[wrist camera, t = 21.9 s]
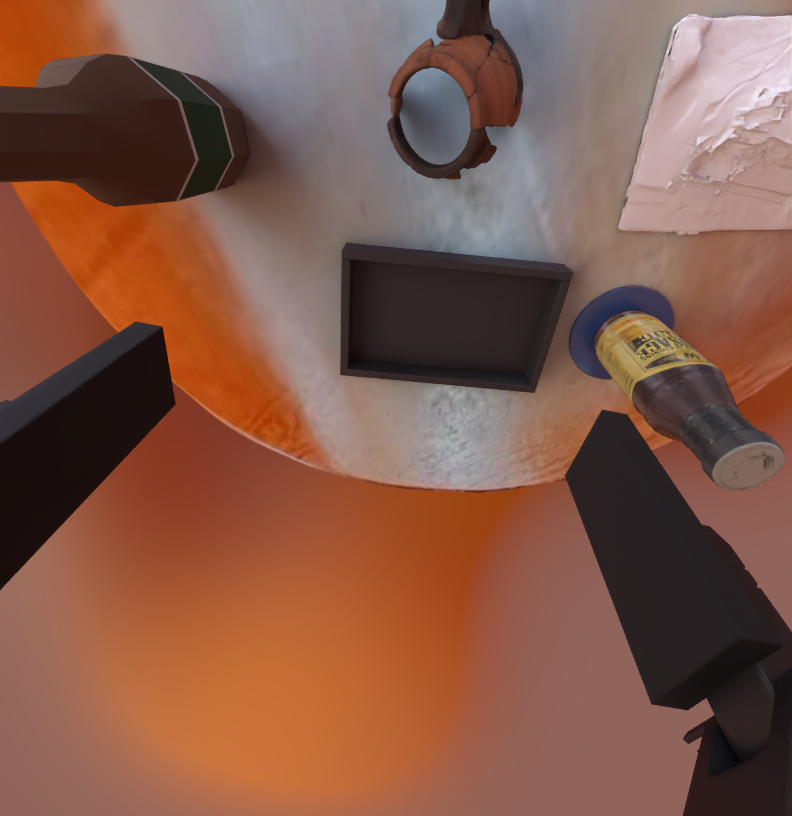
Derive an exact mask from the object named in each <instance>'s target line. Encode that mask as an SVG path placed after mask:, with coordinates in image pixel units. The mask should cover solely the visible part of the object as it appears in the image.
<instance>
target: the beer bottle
mask: <svg viewBox="0 0 792 816" xmlns="http://www.w3.org/2000/svg"><path fill="white" fill-rule="evenodd" d="M250 154H251V153H250V149H249V145H248V140H247V136H246V132H245V128H244V124H243V119H242V115H241V111H240V110H239V109H238V108H237V107H235V106H234V105H233V104H232V103H231V102H230V101H229V100H228V99H227V98H225V97H224V96H223V95H222V94H221V93H220V92H219V91H218V90H216V89H215V88H214V87H213V86H212V85H211V84H210V83H209V82H208V81H206V80H204V79H202V78H199V77H197V76H194V75H190V74H187V73H183V72H180V71H176V70H173V69H169V68H166V67H162V66H159V65H155V64H152V63H148V62H145V61H141V60H138V59H135V58H131V57H128V56H121V55H112V54H100V55H92V56H83V57H75V58H67V59H59V60H53V61H52V62H50V63H48V64H47V65H45V66H43V67H41V69H40V72H39V76H38V79H37V82H36V86H35V88H34V87H8V86H0V182H24V181H62V182H69V183H75V184H76V185H78V186H79V187H80V188H82V189H83V190H85V191H86V192H87V193H89V194H90V195H92V196H93V197H94V198H96V199H97V200H99V201H101V202H104V203H107V204H109V205H112V206H115V207H118V206H129V205H140V204H151V203H162V202H172V201H178V200H182V199H186V198H189V197H193V196H197V195H201V194H204V193H208V192H212V191H216V190H219V189H223V188H227V187H229V186H231V185H233V184H235V182H236V180H237V178H238V176H239V174H240V173H241V171H242V169H243V167H244V165H245V163H246V162H247V160H248V158H249V156H250Z"/></svg>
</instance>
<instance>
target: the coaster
mask: <svg viewBox="0 0 792 816" xmlns="http://www.w3.org/2000/svg"><path fill="white" fill-rule="evenodd" d="M633 310H635V311H641V312H644V313H645V314H647V315H650V316H653V317H655V318H657V319H658V320H659V321H661V322H662V323H663V324H664V325H666V326H667V327H668V328H669V329H670V330H672V331H673V327H674V315H673V310H672V308H671V305H670V304H669V302H668V301H667V300H666V299H665V297H663V296H662V295H661V294H660V293H658V292H656V291H654V290H652V289H650V288H647V287H641V286H626V287H621V288H617V289H614V290H611V291H609V292H607V293H604V294H603V295H601V296H599V297H597V298H596V299H595V300H593V301H592V302H591V303H590V304H589V305H587V306H586V307H585V308H584V310H583V311H582V312H581V313H580V314H579V316H578V317H577V319H576V320H575V322H574V324H573V326H572V329H571V332H570V336H569V351H570V355H571V358H572V359H573V361H574V363H575V364H576V365H577V367H578V368H579V369H580V370H582V371H583V372H584V373H586V374H588V375H590V376H593V377H596V378H601V379H613V378H612V377H611V376H610V374H609V373H608V372H607V370H606V369H605V368H604V366H603V365H602V364H601V362H600V361H599V359H598V356H597V353H596V351H595V345H594V344H595V337H596V335H597V332H598V331H599V330H600V328H601V327H602V326H603V324H604V323H605V322H606V321H607V320H608V319H609V318H611V317H613V316H615V315H618V314H620V313H623V312H627V311H633Z"/></svg>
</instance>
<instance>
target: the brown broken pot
mask: <svg viewBox="0 0 792 816" xmlns="http://www.w3.org/2000/svg"><path fill="white" fill-rule="evenodd" d="M489 1H490V0H447V2H446V9H445V13H444V16H443V18H442V19H441V20H440V21H439V23H438V24H437V35H438V36H439V37H440V38H441V39H444V40H445V41H442V42H440V44H439V45H436V46H434V43H433V40H432V39H429V40H427V41H425V42H424V43H423V44H422V45H420V46H419V47H418V48H417V49H416V50H415V51H414V52H413V53H412V54H411V55H410V56H409V57H408V59H407V60H406V61H405V62H404V64H403V65H402V66H401V67H400V69H399V70H398V71H397V73H396V75H395V76H394V77H393V80H392V83H391V86H390V89H389V93H388V94H389V96H390V97H391V114H392V118H391V119H390V120H389V121H388V124H387V126H388V131H389V135H390V138H391V140H392V142H393V144H394V147H395V149H396V151H397V153H398V154H399V156H400V157H401V159H402V160H403V161H404V162H405V163H406V164H407V165H408V166H411V168H412V169H413V170H414V171H416V172H417V173H419V174H421V175H423V176H426V177H428V178H436V179H437V178H438V179H439V178H446V179H460V178H461V175H460V170H462V169H463V168H465V169H470V168H475V167H477V166H478V165H480V164H481V163H486V162H488V161H489V160H490V159H491V158H492V156H493V155H494V154H495V152H496V150H497V148H496V146H494V145H491V142H490V140H489V139H488V136H487V133H486V130H485V127H486V126H489V127H493V126H502V127H504V126H506V125H507V123H508V125H509V126H510V127H513V126H514V125H515V123H516V121H517V119H518V116H519V113H520V108H521V104H522V96H523V95H522V93H523V78H522V72H521V67H520V64H519V62H518V59H517V57H516V55H515V53H514V52H513V50H512V49H511V47H510V46H509V45H508V44H507V42H506V40H505V39H504V38H503V36H502V35H501V33H500V31H499V30H498V29H494V28H493V26H492V22H491V19H490V13H489ZM488 40H489V41H490V42H491V46H490V45H489V41H488ZM431 67H433V68H437V69H440V70H443V71H444V72H446V73H448V74H449V75H450V76H452V77H453V78H454V79H455V80H456V81H457V83H458V84H459V85H460V87H461V88H462V90H463V92H464V94H465V96H466V98H467V101H468V105H469V110H470V127H471V131H470V135H469V139H468V141H467V144H466V146H465V148H464V150H463V151H462V153H461V154H460V155H459V156H458V157H457V158H456V159H455V160H454V161H452V162H451V163H448V164H442V165H437V164H432V163H429V162H427V161H425V160H424V159H422V158H421V157H420V156H418V155H417V153H416V152H415V151H414V150H413V149H412V148H411V146H410V145H409V143H408V141H407V140H406V138H405V135H404V133H403V129H402V126H401V121H400V116H399V113H400V111H401V108H402V106H403V98H402V93H403V90H404V87H405V85H406V83H407V82H408V80H409V79H410V78H411V77H412V76H413V75H414V74H415V73H416V72H418V71H420V70H422V69H427V68H431Z"/></svg>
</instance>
